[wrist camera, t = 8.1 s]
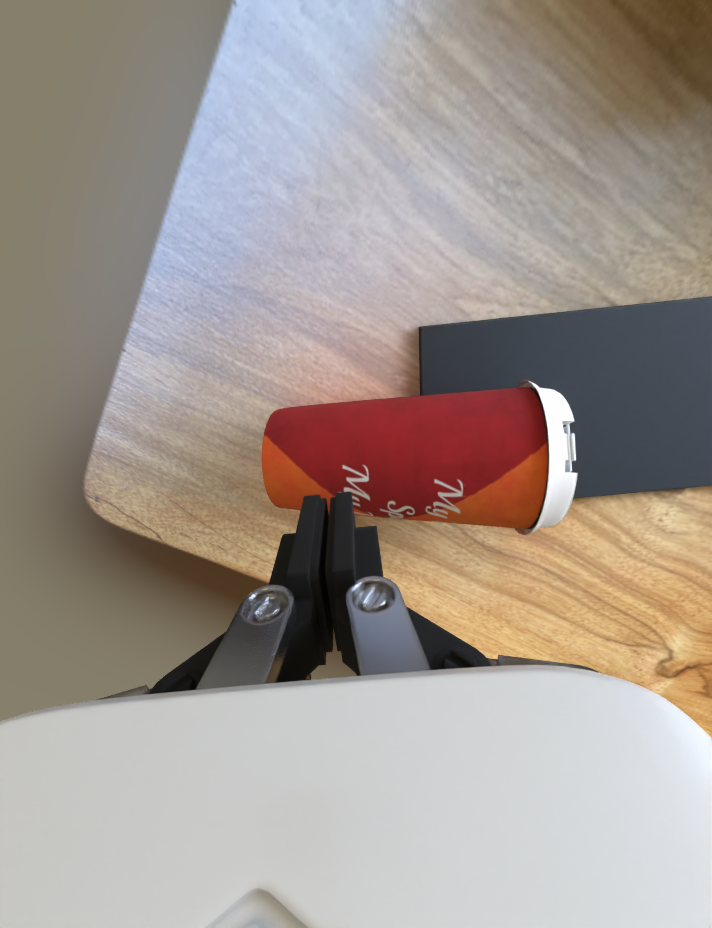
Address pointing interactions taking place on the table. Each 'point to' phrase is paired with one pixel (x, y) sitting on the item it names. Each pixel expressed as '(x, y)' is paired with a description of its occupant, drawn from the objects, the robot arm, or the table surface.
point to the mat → (599, 384)
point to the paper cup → (430, 457)
